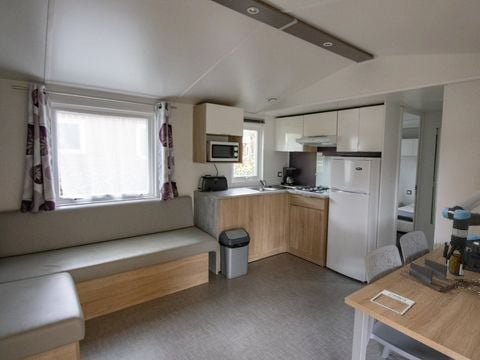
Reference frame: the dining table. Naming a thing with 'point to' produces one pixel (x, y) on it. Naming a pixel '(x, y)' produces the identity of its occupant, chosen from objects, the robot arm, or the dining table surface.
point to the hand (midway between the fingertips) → (454, 272)
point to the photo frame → (396, 297)
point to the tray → (429, 275)
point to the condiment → (455, 265)
